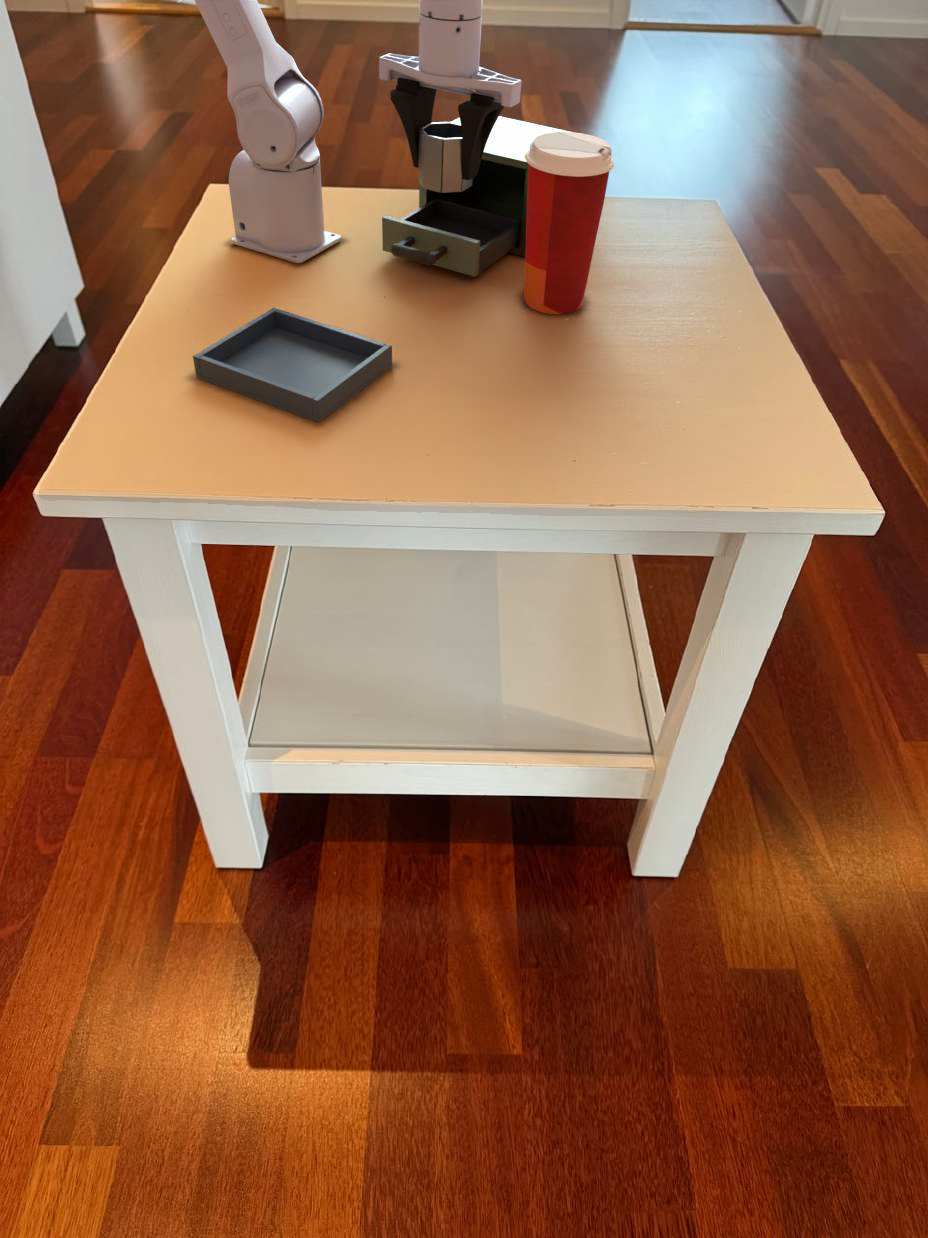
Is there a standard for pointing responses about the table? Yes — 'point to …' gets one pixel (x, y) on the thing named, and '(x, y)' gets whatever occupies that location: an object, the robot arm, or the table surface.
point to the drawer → (451, 236)
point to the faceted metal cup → (441, 158)
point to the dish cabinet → (499, 174)
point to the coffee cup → (563, 217)
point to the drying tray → (294, 363)
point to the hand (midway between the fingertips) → (445, 170)
